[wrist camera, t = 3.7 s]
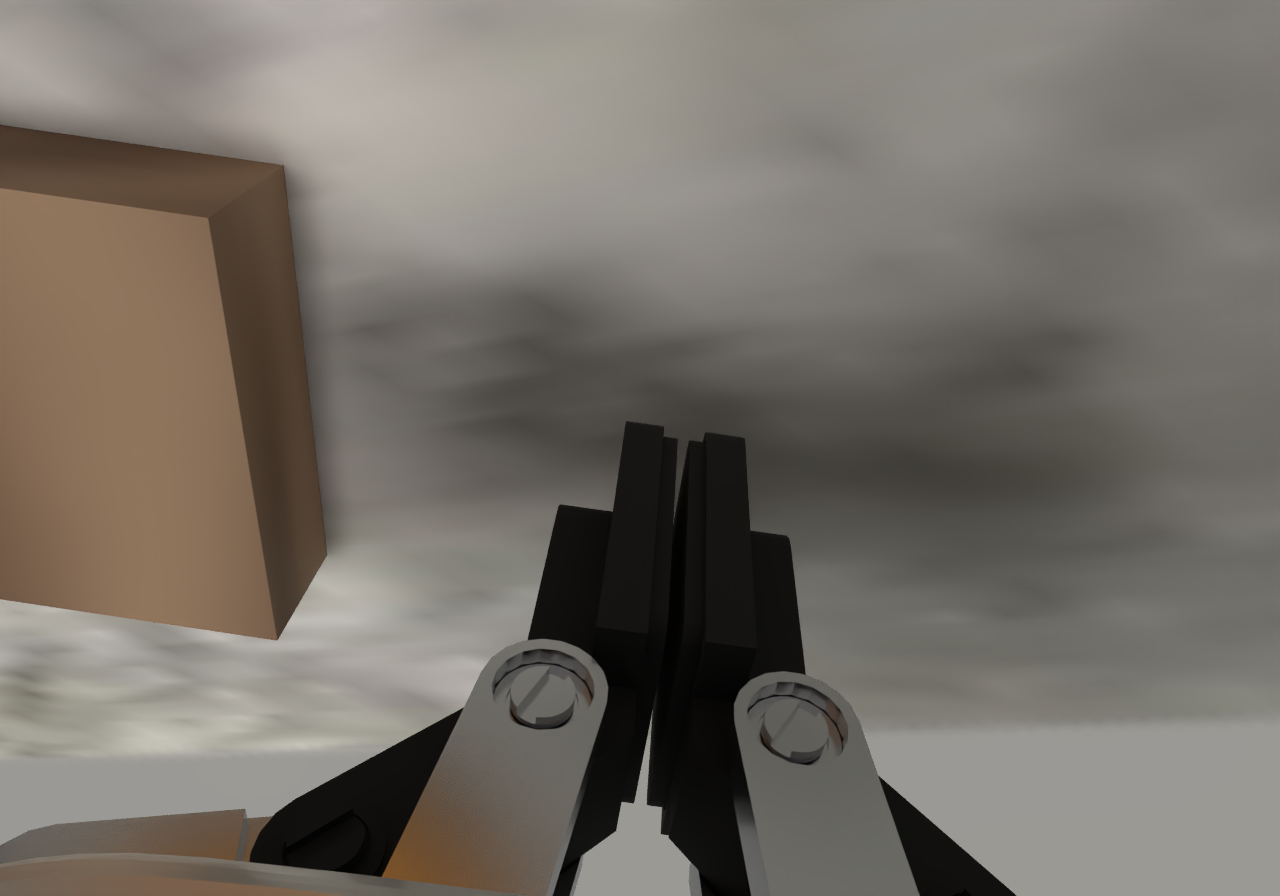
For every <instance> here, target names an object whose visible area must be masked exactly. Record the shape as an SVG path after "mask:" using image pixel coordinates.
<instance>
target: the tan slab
mask: <svg viewBox="0 0 1280 896" xmlns="http://www.w3.org/2000/svg"><path fill="white" fill-rule="evenodd" d="M326 556H327V551H326V542H325V533H324V524H323V515H322V506H321V497H320V488H319V479H318V470H317V461H316V452H315V443H314V434H313V425H312V416H311V407H310V398H309V389H308V380H307V372H306V363H305V354H304V345H303V336H302V327H301V318H300V309H299V300H298V291H297V282H296V273H295V264H294V255H293V246H292V237H291V228H290V219H289V210H288V201H287V192H286V183H285V174H284V165H277V164H270V163H263V162H256V161H249V160H242V159H235V158H228V157H221V156H214V155H207V154H200V153H193V152H186V151H179V150H172V149H165V148H158V147H151V146H144V145H137V144H130V143H123V142H116V141H109V140H102V139H95V138H88V137H81V136H74V135H67V134H60V133H53V132H46V131H39V130H32V129H25V128H18V127H11V126H4V125H0V599H3V600H10V601H16V602H23V603H30V604H36V605H43V606H50V607H56V608H63V609H70V610H77V611H83V612H90V613H97V614H103V615H110V616H117V617H123V618H130V619H137V620H144V621H150V622H157V623H164V624H170V625H177V626H184V627H190V628H197V629H204V630H211V631H217V632H224V633H231V634H237V635H244V636H251V637H257V638H264V639H271V640H278V638H279V637H280V635H281V633H282V631H283V630H284V628H285V626H286V625H287V623H288V621H289V619H290V618H291V616H292V614H293V613H294V611H295V609H296V607H297V606H298V604H299V602H300V601H301V599H302V597H303V595H304V594H305V592H306V590H307V589H308V587H309V585H310V583H311V582H312V580H313V578H314V576H315V575H316V573H317V571H318V570H319V568H320V566H321V564H322V563H323V561H324V559H325V558H326Z"/></svg>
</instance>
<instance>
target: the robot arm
mask: <svg viewBox="0 0 1280 896" xmlns="http://www.w3.org/2000/svg"><path fill="white" fill-rule="evenodd" d="M663 435H664V426H657V425H649V424H642V423H635V422H628V421H626V426H625V433H624V440H623V447H622V453H621V460H620V467H619V474H618V481H617V488H616V495H615V501H614V508H613V512H611V511H603V510H596V509H589V508H581V507H574V506H567V505H559V507H558V511H557V515H556V519H555V523H554V528H553V532H552V536H551V541H550V545H549V549H548V554H547V558H546V562H545V567H544V571H543V575H542V580H541V584H540V589H539V593H538V597H537V602H536V606H535V610H534V615H533V619H532V623H531V628H530V632H529V636H528V640H527V641H522V642H519V643H516V644H514V645H511V646H508V647H506V648H504V649H503V650H502V651H500V652H499V653H497V654H496V655H495V656H493V657H492V658H491V659H490V660H489V662H488V663H487V665H486V666H485V667H484V669H483V670H482V672H481V674H480V676H479V678H478V680H477V682H476V684H475V686H474V688H473V690H472V692H471V694H470V696H469V698H468V700H467V702H466V704H465V707H464V708H462V709H460V710H458V711H457V712H455V713H453V714H451V715H449V716H447V717H446V718H444V719H442V720H440V721H438V722H436V723H434V724H433V725H431V726H429V727H427V728H425V729H423V730H422V731H420V732H418V733H416V734H414V735H412V736H411V737H409V738H407V739H405V740H403V741H401V742H400V743H398V744H396V745H394V746H392V747H390V748H388V749H387V750H385V751H383V752H381V753H379V754H377V755H376V756H374V757H372V758H370V759H368V760H367V761H365V762H363V763H361V764H359V765H357V766H355V767H354V768H352V769H350V770H348V771H346V772H344V773H342V774H341V775H339V776H337V777H335V778H333V779H331V780H330V781H328V782H326V783H324V784H322V785H320V786H319V787H317V788H315V789H313V790H311V791H309V792H308V793H306V794H304V795H302V796H300V797H298V798H296V799H295V800H293V801H292V802H291V803H289V804H288V805H286V806H285V807H284V808H282V809H281V810H279V811H278V812H277V813H275V815H274V816H272V817H259V818H247V815H246V810H245V809H238V810H226V811H213V812H202V813H189V814H176V815H164V816H152V817H140V818H127V819H115V820H102V821H91V822H78V823H67V824H56V825H51V826H47V827H43V828H38V829H34V830H30V831H27V832H25V833H23V834H21V835H20V836H18V837H16V838H14V839H12V840H10V841H8V842H6V843H4V844H2V845H1V846H0V896H573V895H574V892H575V888H576V885H577V881H578V878H579V875H580V871H581V867H582V860H583V854H584V853H586V852H587V851H589V850H590V849H591V848H593V847H594V846H596V845H597V844H598V843H600V842H601V841H603V840H604V839H605V838H607V837H608V836H609V835H611V834H612V833H614V832H615V831H616V828H617V823H618V817H619V812H620V806H621V802H628V803H634V800H635V796H636V791H637V785H638V780H639V775H640V770H641V765H642V760H643V755H644V750H645V745H646V740H647V735H648V730H649V725H650V720H651V715H652V730H651V745H650V760H649V775H648V790H647V805H650V806H658V807H662V821H661V834H664V835H669V838H670V840H671V841H672V842H673V843H674V844H675V845H676V846H677V847H678V848H679V850H680V851H681V852H682V853H683V854H684V855H685V856H686V857H687V858H688V860H689V861H690V862H691V864H690V870H689V885H690V893H691V896H1016V895H1015V894H1014V893H1013V892H1012V891H1011V890H1009V889H1008V888H1007V887H1006V886H1005V885H1004V884H1003V883H1001V882H1000V881H999V880H998V879H997V878H995V877H994V876H993V875H992V874H991V873H990V872H989V871H988V870H986V869H985V868H984V867H983V866H982V865H981V864H979V863H978V862H977V861H976V860H975V859H974V858H972V857H971V856H970V855H969V854H968V853H967V852H966V851H964V850H963V849H962V848H961V847H960V846H959V845H957V844H956V843H955V842H954V841H953V840H952V839H951V838H949V837H948V836H947V835H946V834H945V833H943V832H942V831H941V830H940V829H939V828H938V827H937V826H936V825H935V824H933V823H932V822H931V821H930V820H929V819H928V818H926V817H925V816H924V815H923V814H922V813H921V812H919V811H918V810H917V809H916V808H915V807H914V806H913V805H911V804H910V803H909V802H908V801H907V800H906V799H905V798H903V797H902V796H901V795H900V794H899V793H898V792H897V791H895V790H894V789H893V788H892V787H891V786H890V785H888V784H887V783H886V782H885V781H884V780H883V779H882V778H880V777H879V776H878V774H877V771H876V768H875V765H874V762H873V760H872V757H871V754H870V751H869V748H868V745H867V742H866V739H865V736H864V733H863V730H862V728H861V725H860V722H859V720H858V718H857V716H856V714H855V713H854V711H853V709H852V707H851V705H850V704H849V703H848V702H847V701H846V700H845V699H844V698H843V697H842V696H841V695H840V694H839V693H838V692H837V691H836V690H834V689H832V688H831V687H829V686H828V685H826V684H825V683H823V682H822V681H820V680H817V679H815V678H812V677H809V676H807V675H806V674H805V665H804V656H803V648H802V639H801V631H800V622H799V613H798V605H797V596H796V587H795V579H794V570H793V561H792V553H791V545H790V540H789V538H788V537H787V536H785V535H778V534H770V533H763V532H756V531H750V518H749V501H748V484H747V467H746V450H745V439H744V438H743V437H736V436H728V435H721V434H714V433H707V432H706V433H705V436H704V439H703V442H698V441H691V440H690V441H689V444H688V448H687V453H686V459H685V464H684V469H683V475H682V480H681V486H680V491H679V496H678V502H677V507H676V513H675V518H674V499H675V481H676V463H677V444H678V439H676V438H669V437H663ZM673 518H674V523H673ZM652 710H653V714H652Z"/></svg>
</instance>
